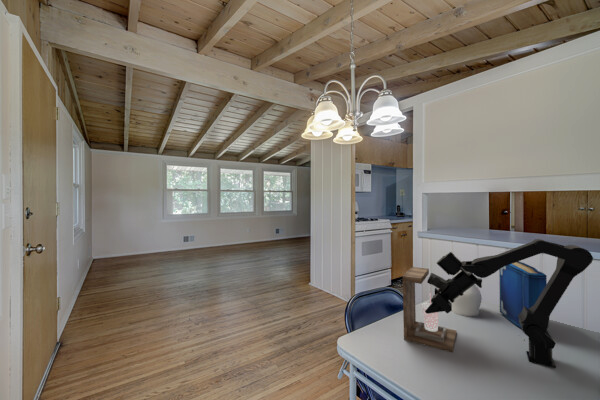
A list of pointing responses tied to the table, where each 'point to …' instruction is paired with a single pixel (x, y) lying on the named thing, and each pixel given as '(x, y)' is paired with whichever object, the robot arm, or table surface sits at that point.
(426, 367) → the table surface
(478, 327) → the table surface
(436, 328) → the beverage cup
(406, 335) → the wooden headphone stand
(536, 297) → the book
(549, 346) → the robot arm
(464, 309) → the vase
